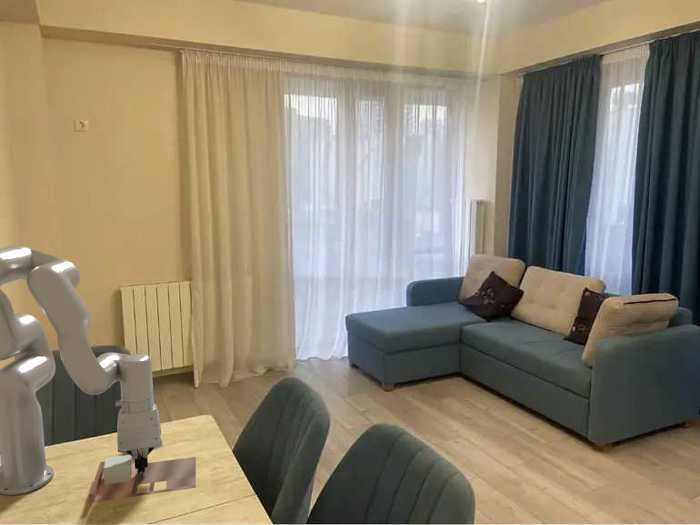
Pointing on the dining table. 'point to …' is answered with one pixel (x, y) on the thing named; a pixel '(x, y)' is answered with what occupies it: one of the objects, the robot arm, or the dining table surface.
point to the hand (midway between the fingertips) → (141, 470)
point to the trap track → (146, 479)
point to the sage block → (118, 469)
